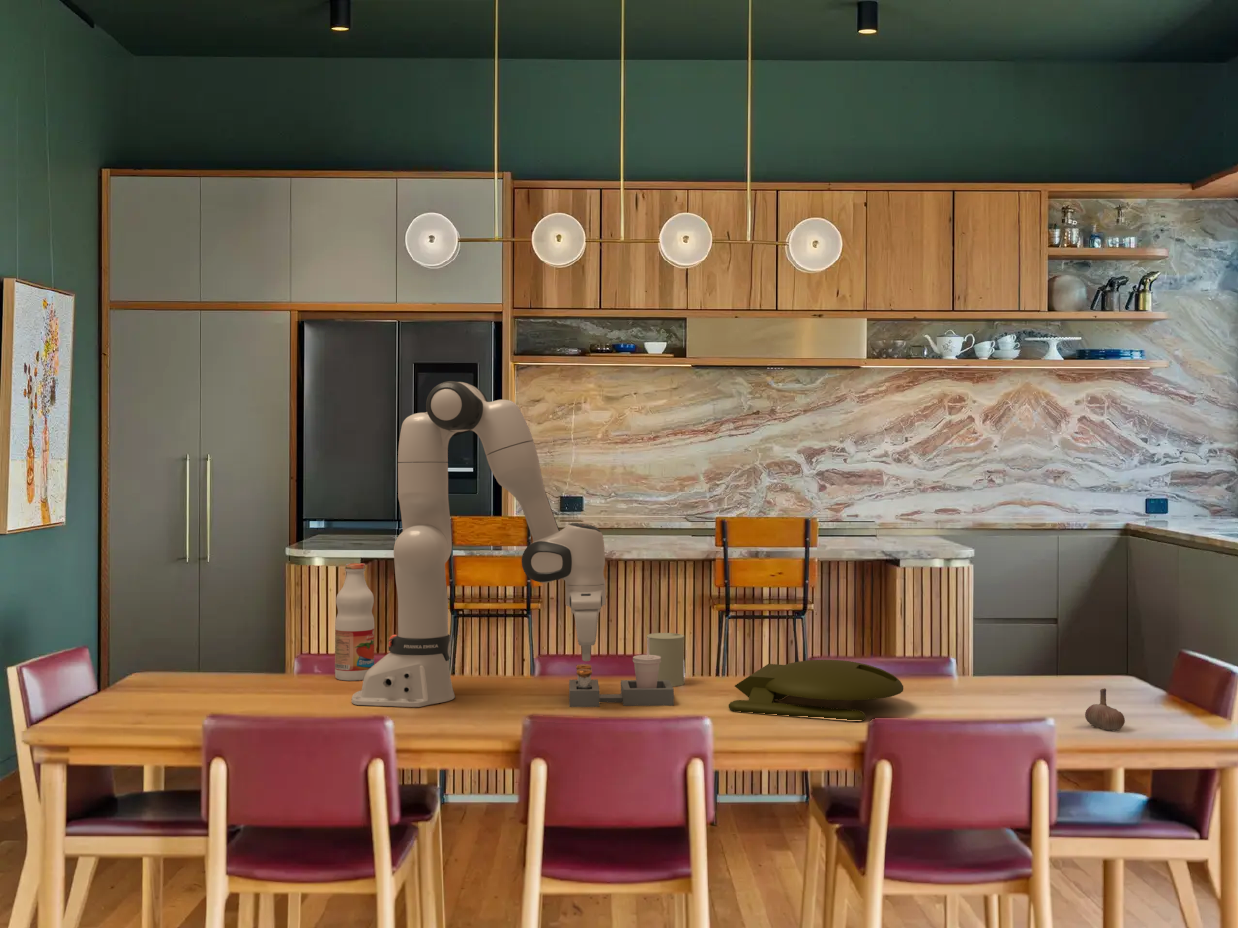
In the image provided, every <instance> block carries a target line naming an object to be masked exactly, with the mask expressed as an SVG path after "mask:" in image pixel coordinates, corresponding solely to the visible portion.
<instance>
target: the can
mask: <svg viewBox="0 0 1238 928" xmlns="http://www.w3.org/2000/svg"><path fill="white" fill-rule="evenodd" d="M647 638H649V655H656V656H660V657H661V662H660V664H659V672H658V680H669V681H670V683H671V685H672V687H673V688H675V687H681V686H683V685H685V676H684V675H685V674H684V673H685V668H684V667H685V664H684V663H685V661H684V660H685V658H684V657H685V656H684V655H685V635H684V634H681V633H675V632H655V633H649V634H647V635H646V639H647Z"/></svg>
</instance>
